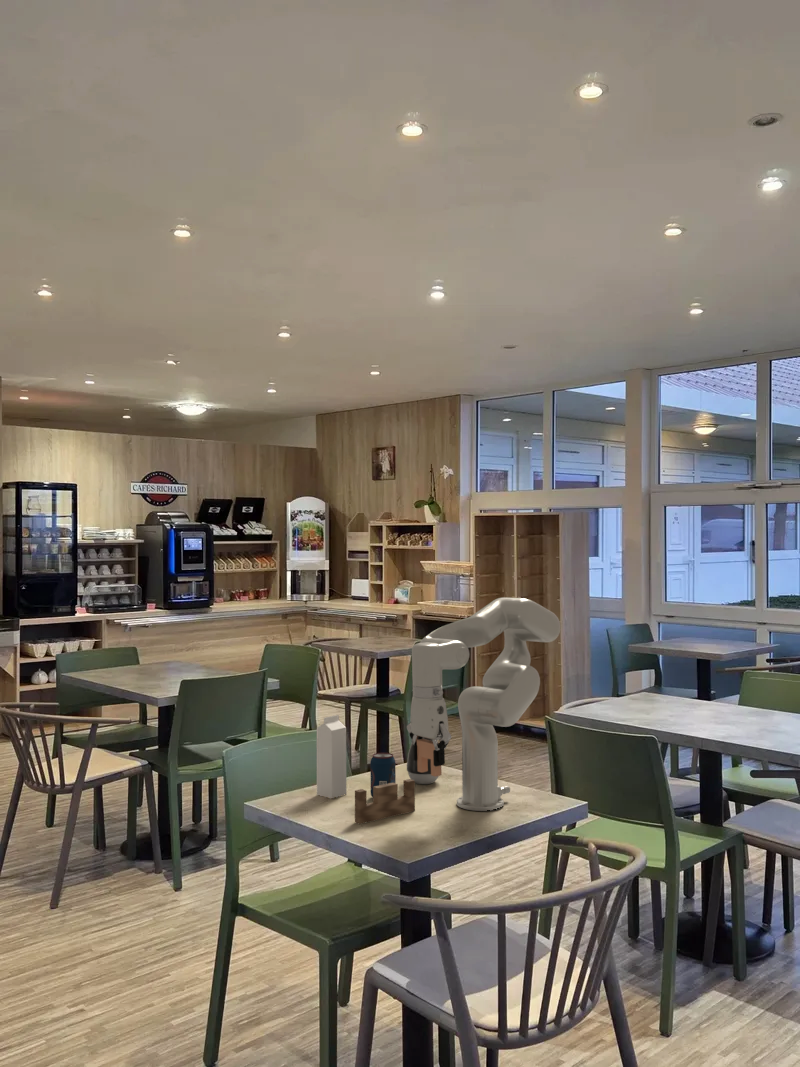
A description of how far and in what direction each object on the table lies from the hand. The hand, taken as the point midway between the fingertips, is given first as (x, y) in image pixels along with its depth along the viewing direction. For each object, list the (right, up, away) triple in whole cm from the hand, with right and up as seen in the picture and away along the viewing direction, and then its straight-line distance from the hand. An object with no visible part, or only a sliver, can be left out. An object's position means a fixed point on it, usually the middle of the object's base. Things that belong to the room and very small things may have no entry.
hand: (429, 761), depth 230 cm
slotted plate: (0, -3, 0) cm, 3 cm away
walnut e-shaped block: (-11, -15, +5) cm, 20 cm away
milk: (-27, -16, +26) cm, 40 cm away
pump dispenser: (0, -16, +39) cm, 42 cm away
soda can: (-12, -16, +22) cm, 30 cm away
